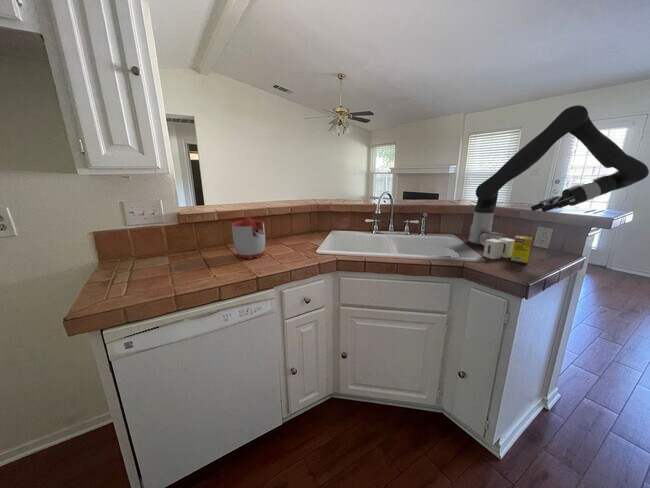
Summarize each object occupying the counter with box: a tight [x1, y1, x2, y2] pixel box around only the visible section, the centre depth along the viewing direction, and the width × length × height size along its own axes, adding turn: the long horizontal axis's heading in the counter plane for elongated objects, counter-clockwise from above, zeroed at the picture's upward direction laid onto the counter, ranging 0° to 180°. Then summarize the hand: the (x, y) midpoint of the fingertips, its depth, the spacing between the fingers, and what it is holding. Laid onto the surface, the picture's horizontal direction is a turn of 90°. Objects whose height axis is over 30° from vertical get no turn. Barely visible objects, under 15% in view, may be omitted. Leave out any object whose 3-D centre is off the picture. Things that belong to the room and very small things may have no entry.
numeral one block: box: [482, 239, 504, 260], centre depth 119 cm, size 5×5×8 cm
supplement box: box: [510, 235, 533, 265], centre depth 112 cm, size 6×6×11 cm
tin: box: [479, 230, 511, 247], centre depth 133 cm, size 15×3×8 cm, turn 32°
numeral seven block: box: [498, 238, 515, 259], centre depth 120 cm, size 5×5×8 cm
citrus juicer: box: [230, 215, 266, 258], centre depth 125 cm, size 16×17×20 cm
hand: (536, 209), depth 110 cm, fingers open, 8 cm apart
